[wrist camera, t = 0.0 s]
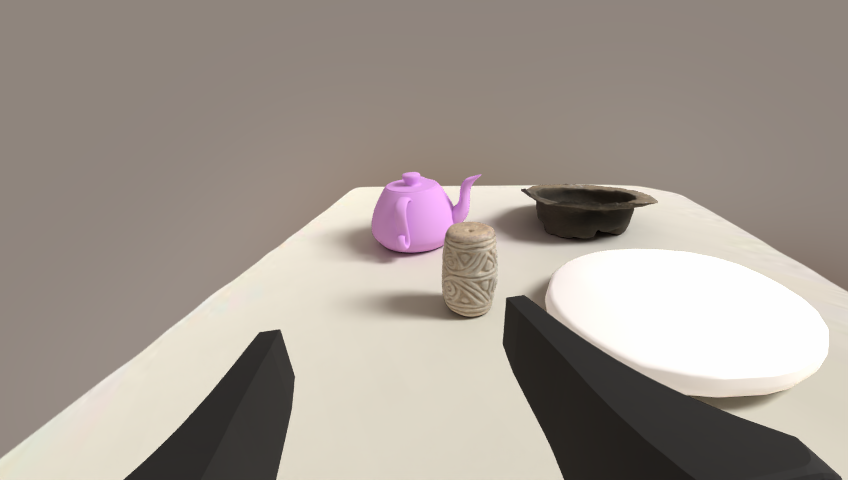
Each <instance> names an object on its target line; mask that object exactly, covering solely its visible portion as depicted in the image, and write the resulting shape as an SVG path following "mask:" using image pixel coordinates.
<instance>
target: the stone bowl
mask: <svg viewBox="0 0 848 480" xmlns="http://www.w3.org/2000/svg"><path fill="white" fill-rule="evenodd" d="M521 191H522V192H524V193H525V194H527V195H528V196H529V197H531V198H533V199H534V200H536V208H537V214H538V218H539V219H540V220H541V221H542V222H543V223H544V225H545V230H546V232H547V233H550V234H552V235H557V236H560V237H566V238H571V237H574V236H575V237H578V238H590V237H593V236H594V235H595V233H596V231H597V230H600V231H601V232H608V233H610V234H621V233H623V232H624V231H625V230H626V228H627V227H628V225H629V223H630V220H631V217H632V214H633V211H634V208H635V207H643V206H646V205H649V204H655V203H658V201H657V200H655V199H654V198H652V197H651V196H650V195H647V194H644V193H641V192H638V191H634V190H626V189H623V188H613V187H603V186H594V185H575V184H573V185H568V184H563V185H538V186H532V187H530V188H529V189H527V190H526V189H521Z"/></svg>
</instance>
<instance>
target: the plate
mask: <svg viewBox="0 0 848 480" xmlns="http://www.w3.org/2000/svg"><path fill="white" fill-rule="evenodd" d="M545 303H546V309H547V313H549V314H550V315H551V316H553V317H554V318H555V319H557V320H558V321H559V322H561V323H562V324H563V325H565V326H566V327H568V328H569V329H570V330H572V331H573V332H575V333H576V334H578V335H579V336H580V337H582V338H583V339H585V340H586V341H588V342H589V343H591V344H592V345H594V346H596V347H597V348H599V349H600V350H602V351H603V352H605V353H607V354H608V355H610V356H611V357H613V358H615V359H617V360H618V361H620V362H622V363H623V364H625V365H627V366H629V367H631V368H633V369H634V370H636V371H638V372H640V373H642V374H643V375H645V376H647V377H649V378H651V379H653V380H655V381H657V382H659V383H661V384H663V385H665V386H668V387H670V388H672V389H674V390H676V391H678V392H680V393H682V394H684V395H694V396H707V397H734V396H752V395H767V394H771V393H775V392H779V391H783V390H787V389H790V388H791V387H793V386H795V385H796V384H798V383H799V382H801V381H803V380H804V379H806V378H808V377H809V376H811V375H812V374H814V373H815V372H816V371H817V370H818V369H819V367H820V366H821V364H822V362H823V361H824V359H825V358H826V356H827V354H828V347H829V329H828V328H827V326H826V325H825V323H824V321H823V320H822V318H821V317H820V315H819V313H818V312H817V311H816V310H815V309H814V308H813V307H812V306H811V305H809V304H808V303H807V302H806V301H805V300H804V299H803V298H801V297H800V296H798V295H796V294H795V293H793V292H792V291H790V290H788V289H787V288H785V287H784V286H782V285H780V284H779V283H777V282H775V281H773V280H771V279H769V278H767V277H765V276H763V275H761V274H759V273H757V272H755V271H752V270H750V269H748V268H745V267H743V266H741V265H738V264H736V263H732V262H729V261H725V260H722V259H718V258H715V257H710V256H705V255H700V254H695V253H689V252H683V251H670V250H657V249H622V250H608V251H601V252H595V253H591V254H587V255H584V256H581V257H577V258H575V259H573V260H571V261H569V262H567V263H565V264H564V265H563V266H561V267H560V268H559V269H558V270H557V271H555V272H554V273H553V274H552V277H551V279H550V282H549V286H548V289H547V293H546V296H545Z"/></svg>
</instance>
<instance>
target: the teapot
mask: <svg viewBox="0 0 848 480" xmlns="http://www.w3.org/2000/svg"><path fill="white" fill-rule="evenodd" d="M479 176H481V175H476V176H472V177H469V178H467V179H465V180H464V181H463V183H462V185H461V189H460V199H459V202H458V204H457V205H455V206H454V207H453V204H452V202H451V201H450V199H449V197H448V196H447V194H446V193H445V191H444V190H443V189H442V187H441V186H440V185H439V184H438V183H437V182H436V181H434V180H431V179H425V178H424V177H420V173H417V172H408V173H404V174H402V177H403V180H398V181H395V182H391V183H389V184H388V185H387V186H386V187H385V188H384V190H383V192H382V194H381V196H380V198H379V200H378V202H377V204H376V207H375V209H374V213H373V218H372V233H373V235H374V237H375V238H376V240H377V241H379V242H380V243H381V244H382V245H383V246H385V247H386V248H388V249H390V250H394V251H398V252H423V251H429V250H433V249H436V248H438V247H441V246H443V245H444V239H445V233H446V232H447V230H448V228H449V227H450V226H451V225H453V224H456V223H461V222H463V221H464V220H465V218H466V217H467V215H468V211H469V204H470V189H471V186H472V184H473V183H474V181H475V180H476V179H477V178H478V177H479Z"/></svg>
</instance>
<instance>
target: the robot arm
mask: <svg viewBox="0 0 848 480" xmlns="http://www.w3.org/2000/svg"><path fill="white" fill-rule="evenodd" d="M503 346H504V349H505V352H506V355H507V358H508V360H509V363H510V366H511V368H512V371H513V373H514V375H515V377H516V379H517V381H518V383H519V385H520V387H521V389H522V391H523V393H524V395H525V397H526V399H527V401H528V403H529V405H530V407H531V409H532V411H533V412H534V414H535V416H536V418H537V420H538V422H539V424H540V426H541V428H542V430H543V432H544V434H545V436H546V438H547V440H548V442H549V444H550V446H551V449H552V451H553V453H554V456H555V458H556V461H557V463H558V466H559V468H560V470H561V473H562V475H563V478H564V480H842V478H841V476H839V475H838V474H837V473H836V472H835V471H834V470H833V469H832V468H830V467H829V466H828V465H827V464H826V463H825V462H824V461H823V460H821V459H820V458H819V457H818V456H817V455H816V454H815V453H814V452H812V451H811V450H810V449H809V448H808V447H807V446H806V445H805V444H803V443H802V442H801V441H800V440H799V439H798V438H796V437H794V436H791V435H788V434H785V433H783V432H780V431H777V430H774V429H771V428H768V427H766V426H763V425H760V424H757V423H754V422H751V421H748V420H746V419H743V418H740V417H737V416H735V415H732V414H730V413H727V412H725V411H722V410H720V409H717V408H715V407H712V406H710V405H708V404H705V403H703V402H700V401H698V400H696V399H694V398H691V397H689V396H687V395H684V394H682V393H680V392H678V391H676V390H674V389H672V388H670V387H668V386H665V385H663V384H661V383H659V382H657V381H655V380H653V379H651V378H649V377H647V376H645V375H643V374H642V373H640V372H638V371H636V370H634V369H633V368H631V367H629V366H627V365H625V364H623V363H622V362H620V361H618V360H617V359H615V358H613V357H611V356H610V355H608V354H607V353H605V352H603V351H602V350H600V349H599V348H597V347H596V346H594V345H592V344H591V343H589V342H588V341H586V340H585V339H583V338H582V337H580V336H579V335H578V334H576V333H575V332H573V331H572V330H570V329H569V328H568V327H566V326H565V325H563V324H562V323H561V322H559V321H558V320H557V319H555V318H554V317H553V316H551V315H550V314H549V313H547V312H546V311H545V310H543V309H542V308H541V307H539V306H538V305H537V304H535V303H534V302H533V301H531V300H530V299H529V298H527V297H526V296H524V295H522V296H515V297H508V298H506V309H505V322H504V334H503ZM294 380H295V376H294V372H293V369H292V366H291V363H290V359H289V356H288V353H287V350H286V346H285V343H284V340H283V337H282V333H281V330H273V331H265V332H259V334H258V335H257V336H256V337H255V338H254V340H253V341H252V342H251V343H250V345H249V346H248V347H247V348H246V350H245V351H244V352H243V353H242V355H241V356H240V357H239V359H238V360H237V361H236V362H235V364H234V365H233V366H232V367H231V369H230V370H229V371H228V372H227V373H226V375H225V376H224V377H223V378H222V379H221V381H220V382H219V383H218V384H217V385H216V387H215V388H214V389H213V390H212V391H211V393H210V394H209V395H208V396H207V397H206V398H205V399H204V401H203V402H202V403H201V404H200V405H199V406H198V407H197V408H196V409H195V411H194V412H193V413H192V414H191V415H190V416H189V417H188V418H187V419H186V421H185V422H184V423H183V424H182V425H181V426H180V427H179V428H178V429H177V430H176V431H175V432H174V433H173V434H172V435H171V436H170V437H169V438H168V439H167V440H166V441H165V442H164V443H163V444H162V445H161V446H160V447H159V448H158V449H157V450H156V451H155V452H154V453H153V454H152V455H151V456H149V457H148V458H147V459H146V460H145V461H144V462H143V463H142V464H141V465H140V466H139V467H137V468H136V469H135V470H134V471H133V472H132V473H131V474H129V475H128V476H127V477H126V478H125V479H124V480H276V477H277V473H278V469H279V464H280V460H281V455H282V451H283V446H284V442H285V438H286V433H287V428H288V424H289V419H290V415H291V410H292V401H293V392H294Z"/></svg>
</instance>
